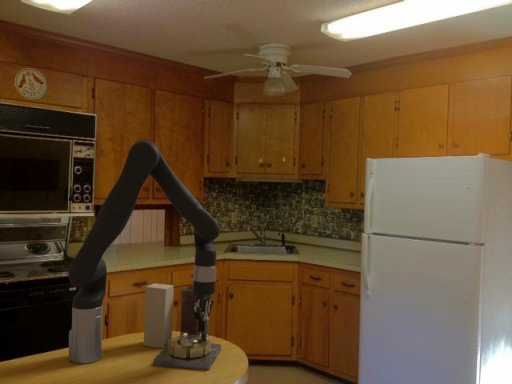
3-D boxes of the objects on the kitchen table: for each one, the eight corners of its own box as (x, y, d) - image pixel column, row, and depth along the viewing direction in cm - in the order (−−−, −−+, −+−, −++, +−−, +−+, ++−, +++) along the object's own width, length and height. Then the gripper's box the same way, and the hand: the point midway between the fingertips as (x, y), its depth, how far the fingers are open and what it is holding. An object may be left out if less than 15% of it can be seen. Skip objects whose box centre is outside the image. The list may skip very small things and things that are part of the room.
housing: (153, 365, 148) (154, 346, 148) (171, 346, 166) (171, 329, 166) (209, 370, 146) (209, 350, 146) (221, 349, 164) (221, 332, 164)
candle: (202, 343, 170) (204, 288, 170) (182, 345, 167) (184, 289, 167) (197, 336, 177) (198, 283, 177) (178, 338, 175) (179, 284, 174)
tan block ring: (216, 354, 153) (216, 322, 153) (175, 360, 147) (176, 327, 147) (200, 341, 165) (201, 311, 165) (163, 346, 159) (164, 315, 159)
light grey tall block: (173, 342, 170) (174, 284, 170) (164, 348, 163) (165, 288, 163) (153, 339, 172) (154, 282, 172) (143, 346, 165) (144, 286, 165)
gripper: (206, 283, 147) (204, 338, 147) (222, 277, 160) (219, 328, 160) (185, 280, 150) (182, 335, 149) (202, 275, 162) (199, 325, 162)
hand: (201, 331), depth 154 cm, fingers closed
